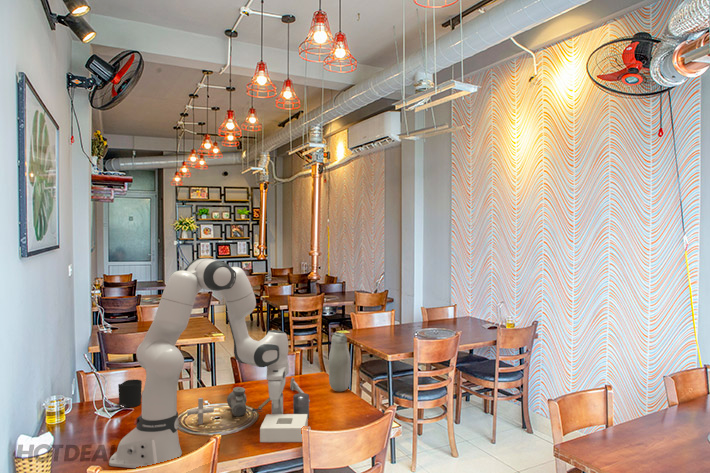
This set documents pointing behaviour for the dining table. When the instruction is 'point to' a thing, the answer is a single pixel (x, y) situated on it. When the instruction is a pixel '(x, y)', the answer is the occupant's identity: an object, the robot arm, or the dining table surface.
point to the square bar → (280, 408)
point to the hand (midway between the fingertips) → (278, 403)
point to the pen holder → (130, 393)
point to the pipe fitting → (237, 401)
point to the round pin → (301, 404)
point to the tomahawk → (261, 405)
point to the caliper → (295, 386)
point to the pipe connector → (200, 411)
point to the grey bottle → (339, 363)
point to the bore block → (283, 427)
